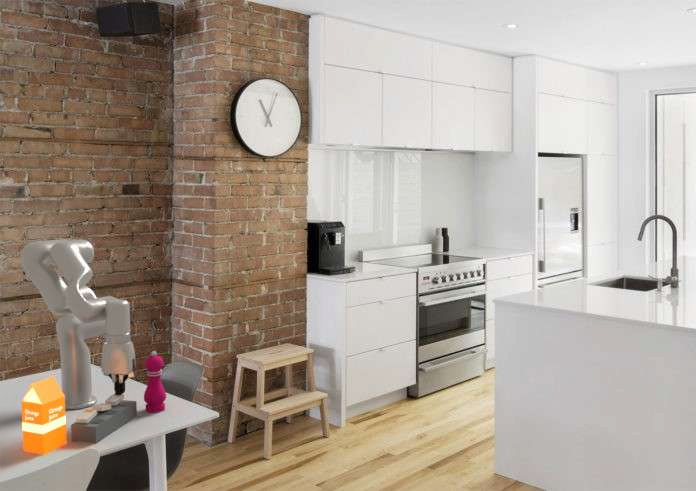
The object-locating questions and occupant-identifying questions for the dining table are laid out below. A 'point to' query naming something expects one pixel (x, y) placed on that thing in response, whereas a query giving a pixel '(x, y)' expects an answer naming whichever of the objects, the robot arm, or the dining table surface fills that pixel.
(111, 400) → the plate
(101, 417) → the power strip
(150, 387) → the pepper mill
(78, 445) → the dining table surface
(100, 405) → the block
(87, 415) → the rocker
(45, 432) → the orange juice
